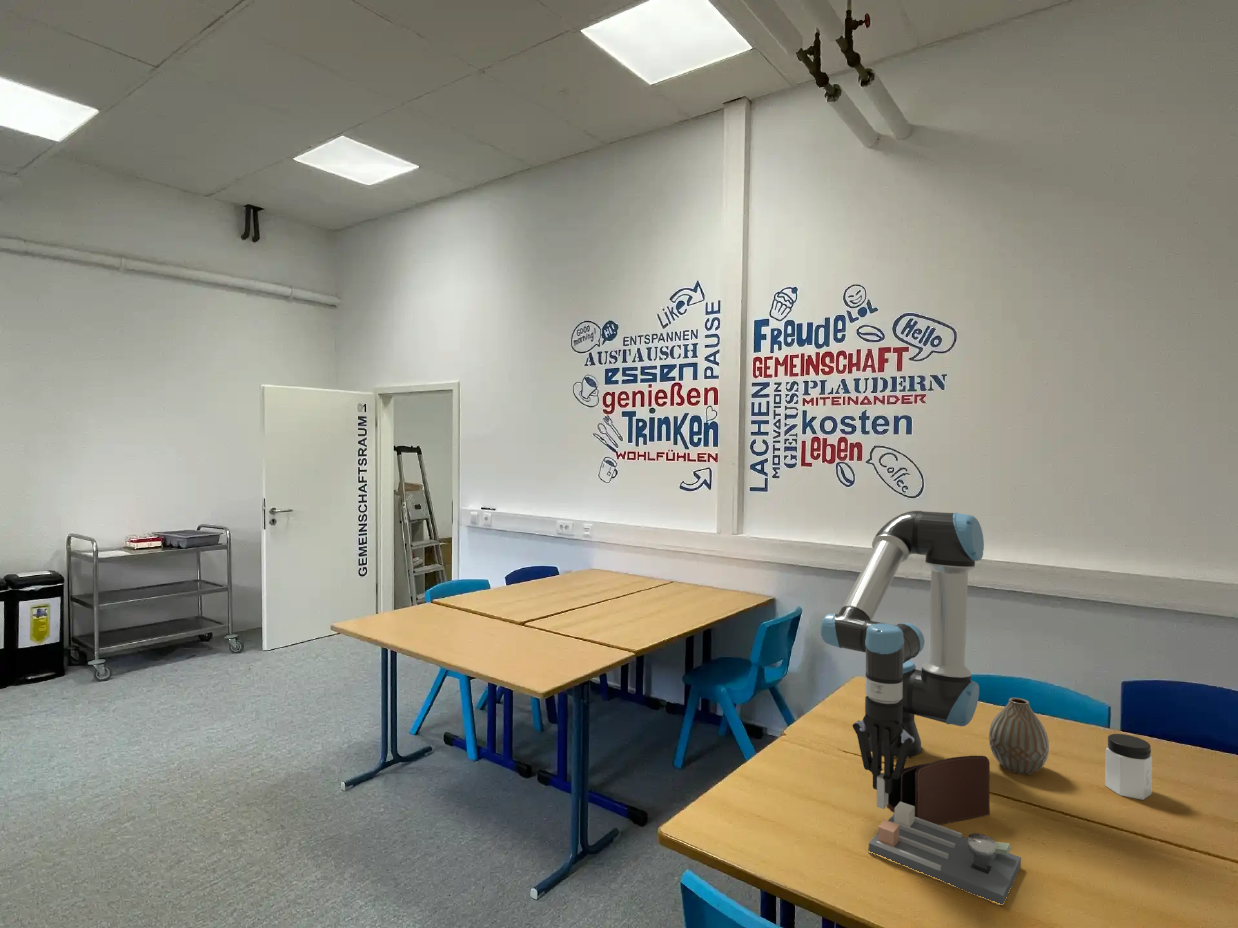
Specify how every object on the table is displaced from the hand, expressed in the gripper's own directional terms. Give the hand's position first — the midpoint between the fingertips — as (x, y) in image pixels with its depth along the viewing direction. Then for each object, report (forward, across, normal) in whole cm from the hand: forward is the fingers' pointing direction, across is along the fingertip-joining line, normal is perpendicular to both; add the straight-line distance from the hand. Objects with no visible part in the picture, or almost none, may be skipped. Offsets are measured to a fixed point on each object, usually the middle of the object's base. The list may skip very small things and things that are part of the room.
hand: (882, 805), depth 145 cm
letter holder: (+5, +7, +14) cm, 16 cm away
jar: (+4, +38, +54) cm, 66 cm away
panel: (+4, +14, -4) cm, 15 cm away
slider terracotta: (+2, +5, -9) cm, 11 cm away
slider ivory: (+2, +5, 0) cm, 5 cm away
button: (+2, +21, -5) cm, 21 cm away
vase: (+4, +16, +49) cm, 52 cm away
